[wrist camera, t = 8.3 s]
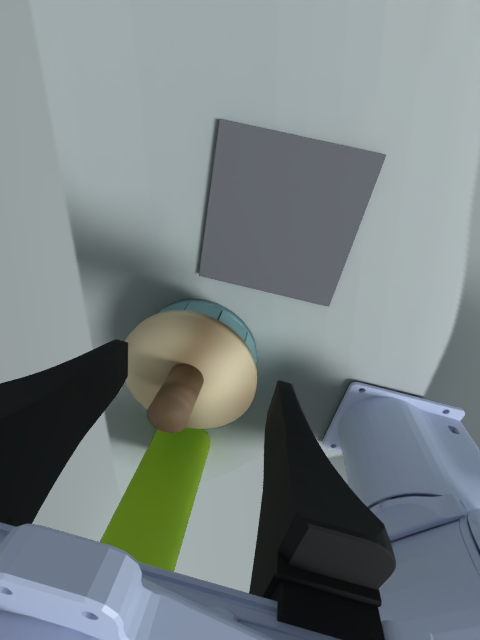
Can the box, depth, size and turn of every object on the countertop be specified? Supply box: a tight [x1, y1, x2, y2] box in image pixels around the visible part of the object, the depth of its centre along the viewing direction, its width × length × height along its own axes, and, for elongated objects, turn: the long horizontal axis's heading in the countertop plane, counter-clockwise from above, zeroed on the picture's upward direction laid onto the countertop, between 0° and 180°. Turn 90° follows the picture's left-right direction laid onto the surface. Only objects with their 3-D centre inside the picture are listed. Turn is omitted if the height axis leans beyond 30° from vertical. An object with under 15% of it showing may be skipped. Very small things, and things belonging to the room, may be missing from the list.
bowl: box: [158, 299, 258, 365], centre depth 24 cm, size 10×10×4 cm
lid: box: [125, 310, 257, 433], centre depth 20 cm, size 10×10×5 cm
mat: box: [199, 119, 386, 307], centre depth 20 cm, size 10×10×1 cm
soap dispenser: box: [100, 427, 210, 572], centre depth 23 cm, size 6×7×20 cm
